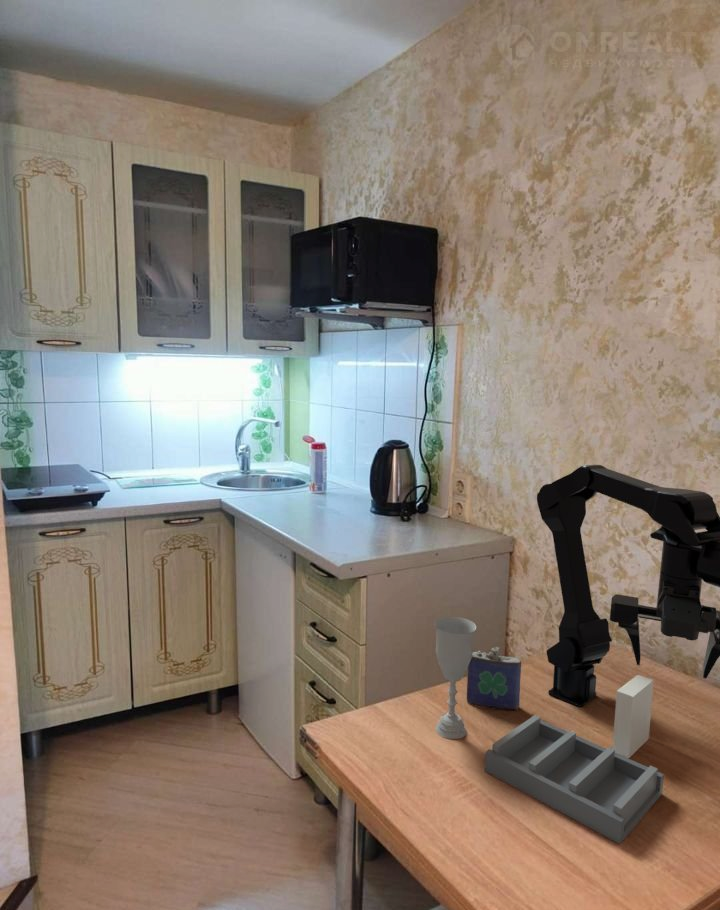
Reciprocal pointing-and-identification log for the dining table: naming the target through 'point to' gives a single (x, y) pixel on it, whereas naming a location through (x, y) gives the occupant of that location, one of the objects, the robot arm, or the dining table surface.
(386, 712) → the dining table surface
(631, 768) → the rack
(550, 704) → the dining table surface
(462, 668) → the chalice
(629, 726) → the white rectangular block
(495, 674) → the flask
